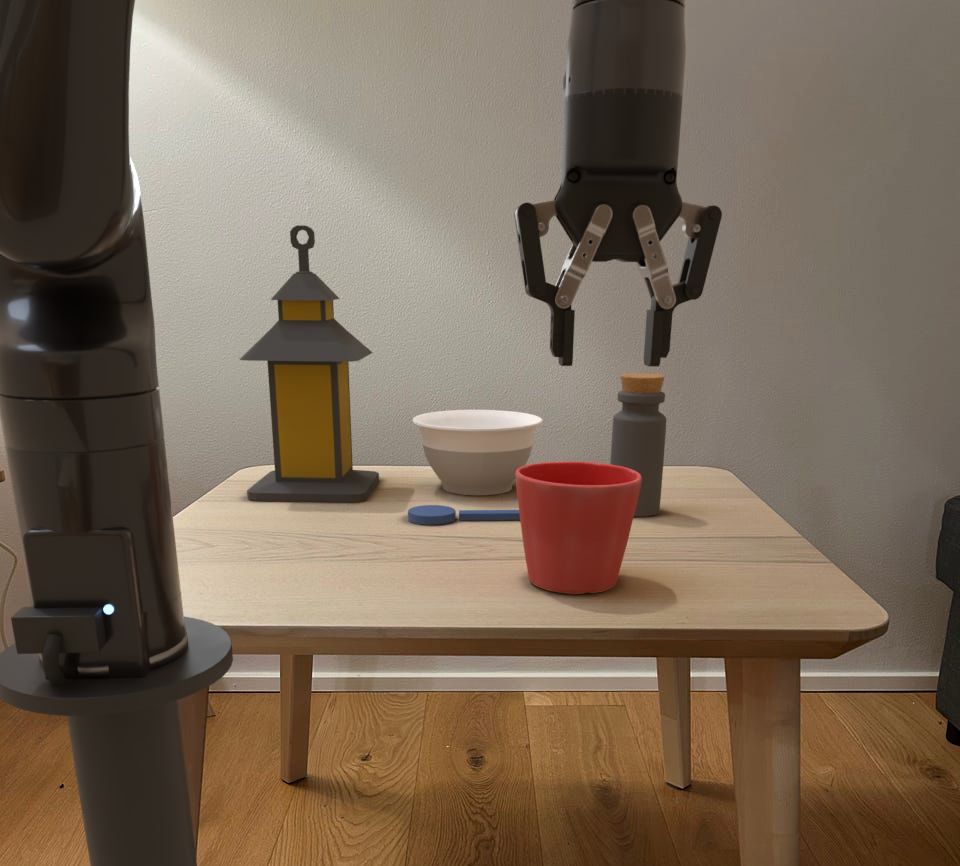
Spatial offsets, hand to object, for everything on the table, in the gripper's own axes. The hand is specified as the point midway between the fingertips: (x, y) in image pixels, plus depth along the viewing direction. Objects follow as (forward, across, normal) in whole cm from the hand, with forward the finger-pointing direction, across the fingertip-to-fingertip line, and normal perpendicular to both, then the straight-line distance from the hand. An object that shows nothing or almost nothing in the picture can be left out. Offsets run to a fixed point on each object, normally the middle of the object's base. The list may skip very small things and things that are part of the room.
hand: (608, 364), depth 68 cm
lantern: (+20, -26, +50) cm, 60 cm away
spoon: (+19, -6, +34) cm, 40 cm away
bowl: (+20, -6, +50) cm, 54 cm away
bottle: (+20, +11, +37) cm, 43 cm away
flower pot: (+20, 0, +11) cm, 23 cm away
